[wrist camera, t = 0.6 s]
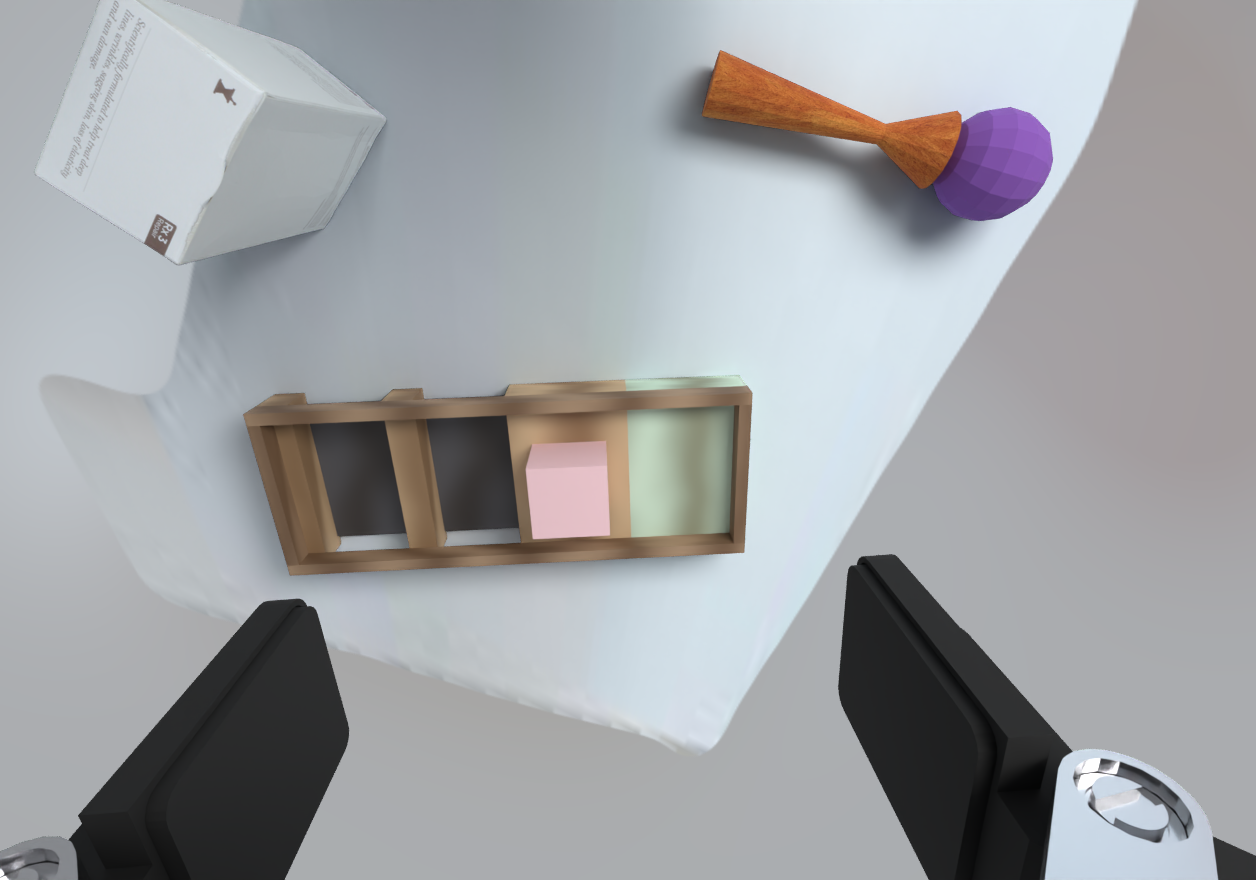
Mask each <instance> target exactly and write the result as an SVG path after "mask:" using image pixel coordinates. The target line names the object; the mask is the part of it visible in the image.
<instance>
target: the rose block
mask: <svg viewBox="0 0 1256 880" xmlns="http://www.w3.org/2000/svg"><path fill="white" fill-rule="evenodd" d="M526 478H527V487H528V497H529V507H530V516H531V526H532V535H533V539H549V538H569V537H589V536H610V519H609V494H608V472H607V451H606V441H594V442H572V443H549V444H532V447H531V451H530V455H529V458H528V462H527V466H526Z"/></svg>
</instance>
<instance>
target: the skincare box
mask: <svg viewBox="0 0 1256 880" xmlns="http://www.w3.org/2000/svg"><path fill="white" fill-rule="evenodd" d="M385 123H386V118H385V117H384V116H383V115H382V114H381V113H380V112H378V111H377V110H376V109H375V108H373V107H372V106H371V105H370V104H369V103H367V102H366V101H365V100H364V99H362V98H361V97H360V96H359V95H357V94H356V93H355V92H354V91H352V90H351V89H350V88H349V87H347V86H346V85H345V84H344V83H342V82H341V81H340V80H338V79H337V78H336V77H335V76H333V75H332V74H331V73H330V72H328V71H327V70H326V69H325V68H323V67H322V66H321V65H319V64H318V63H317V62H316V61H314V60H313V59H312V58H311V57H309V56H308V55H307V54H306V53H304V52H303V51H302V50H301V49H299V48H298V47H295V46H293V45H290V44H287V43H284V42H282V41H279V40H276V39H273V38H271V37H268V36H265V35H262V34H259V33H256V32H253V31H250V30H248V29H245V28H242V27H239V26H236V25H233V24H231V23H228V22H225V21H222V20H220V19H217V18H214V17H211V16H208V15H205V14H203V13H200V12H197V11H194V10H192V9H189V8H186V7H183V6H181V5H178V4H175V3H172V2H168V1H166V0H99V2H98V5H97V8H96V10H95V13H94V16H93V18H92V21H91V24H90V26H89V29H88V32H87V34H86V37H85V40H84V42H83V44H82V47H81V50H80V52H79V55H78V58H77V61H76V63H75V66H74V69H73V71H72V73H71V76H70V78H69V81H68V83H67V86H66V89H65V91H64V94H63V97H62V99H61V102H60V104H59V107H58V110H57V113H56V115H55V118H54V120H53V123H52V126H51V129H50V131H49V134H48V136H47V139H46V141H45V144H44V147H43V149H42V152H41V154H40V157H39V159H38V162H37V165H36V167H35V170H34V173H35V175H36V176H38V177H40V178H41V179H43V180H44V181H46V182H47V183H48V184H50V185H51V186H53V187H55V188H56V189H58V190H59V191H61V192H62V193H64V194H66V195H67V196H69V197H70V198H72V199H74V200H75V201H77V202H78V203H80V204H82V205H83V206H85V207H86V208H88V209H90V210H91V211H93V212H94V213H96V214H98V215H99V216H101V217H103V218H104V219H106V220H107V221H109V222H110V223H112V224H113V225H115V226H117V227H118V228H120V229H121V230H123V231H125V232H126V233H128V234H130V235H131V236H133V237H134V238H136V239H137V240H139V241H141V242H142V243H144V244H146V245H147V246H149V247H150V248H152V249H153V250H155V251H157V252H158V253H160V254H161V255H163V256H164V257H166V258H167V259H168V260H170V261H171V262H173V263H174V264H176V265H182V264H186V263H190V262H194V261H198V260H202V259H206V258H210V257H214V256H217V255H221V254H225V253H229V252H233V251H237V250H241V249H245V248H249V247H253V246H257V245H261V244H264V243H268V242H272V241H276V240H280V239H284V238H288V237H292V236H296V235H300V234H304V233H308V232H312V231H316V230H320V229H324V228H325V227H326V225H327V224H328V222H329V220H330V219H331V217H332V215H333V214H334V212H335V210H336V208H337V207H338V205H339V203H340V201H341V200H342V198H343V196H344V195H345V193H346V191H347V190H348V188H349V186H350V185H351V183H352V181H353V179H354V178H355V176H356V174H357V172H358V171H359V169H360V167H361V165H362V164H363V162H364V160H365V158H366V156H367V154H368V153H369V151H370V149H371V147H372V145H373V142H374V140H375V139H376V137H377V135H378V134H379V132H380V131H381V129H382V127H383V126H384V124H385Z"/></svg>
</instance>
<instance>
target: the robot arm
mask: <svg viewBox="0 0 1256 880" xmlns="http://www.w3.org/2000/svg"><path fill="white" fill-rule="evenodd" d="M838 690H839V696H840V701H841V704H842V707H843V709H844V711H845V713H846V715H847V717H848V719H849V721H850V723H851V725H852V727H853V729H854V731H855V733H856V735H857V737H858V739H859V741H860V743H861V745H862V747H863V749H864V751H865V753H866V755H867V757H868V759H869V761H870V763H871V765H872V767H873V769H874V771H875V773H876V775H877V777H878V779H879V781H880V783H881V785H882V787H883V789H884V791H885V793H886V795H887V797H888V799H889V801H890V803H891V805H892V807H893V809H894V811H895V813H896V815H897V817H898V819H899V821H900V823H901V825H902V827H903V829H904V831H905V833H906V835H907V837H908V839H909V841H910V843H911V845H912V847H913V849H914V851H915V853H916V855H917V857H918V859H919V861H920V863H921V865H922V867H923V869H924V871H925V873H926V875H927V877H928V879H929V880H1256V856H1255V855H1253V854H1250V853H1248V852H1246V851H1244V850H1241V849H1239V848H1237V847H1235V846H1233V845H1230V844H1228V843H1226V842H1224V841H1221V840H1219V839H1217V838H1215V837H1213V836H1212V830H1211V827H1210V824H1209V822H1208V819H1207V816H1206V814H1205V812H1204V811H1203V810H1202V808H1201V807H1200V806H1199V804H1198V803H1197V802H1196V800H1195V799H1194V798H1193V797H1192V796H1191V795H1190V794H1189V793H1188V792H1187V791H1186V790H1184V789H1183V788H1182V787H1181V786H1180V785H1179V784H1178V783H1177V782H1175V781H1174V780H1173V779H1171V778H1169V777H1168V776H1166V775H1165V774H1163V773H1162V772H1160V771H1158V770H1157V769H1156V768H1154V767H1152V766H1150V765H1148V764H1146V763H1143V762H1141V761H1139V760H1137V759H1135V758H1133V757H1130V756H1127V755H1123V754H1120V753H1116V752H1113V751H1109V750H1100V749H1083V750H1077V751H1072V750H1071V749H1070V748H1069V747H1068V746H1067V745H1066V743H1065V742H1064V741H1063V740H1062V739H1061V738H1060V737H1059V735H1058V734H1057V733H1056V732H1055V731H1054V730H1053V729H1052V728H1051V727H1050V725H1049V724H1048V723H1047V722H1046V721H1045V720H1044V719H1043V717H1042V716H1041V715H1040V714H1039V713H1038V712H1037V711H1036V710H1035V709H1034V708H1033V706H1032V705H1031V704H1030V703H1029V702H1028V701H1027V699H1026V698H1025V697H1024V696H1023V695H1022V694H1021V693H1020V692H1019V690H1018V689H1017V688H1016V687H1015V686H1014V685H1013V684H1012V683H1011V681H1010V680H1009V679H1008V678H1007V677H1006V676H1005V675H1004V674H1003V672H1002V671H1001V670H1000V669H999V668H998V667H997V666H996V665H995V664H994V662H993V661H992V660H991V659H990V658H989V657H988V656H987V655H986V654H985V652H984V651H983V650H982V649H981V648H980V647H979V645H977V643H976V642H975V641H974V640H973V639H972V638H971V636H970V635H969V634H968V633H966V632H965V631H964V630H963V629H962V628H960V627H959V626H958V625H957V624H956V623H955V622H954V620H953V619H952V618H951V617H950V616H949V615H948V614H947V612H945V610H944V609H943V608H942V607H941V606H940V605H939V603H938V602H937V601H936V600H935V599H934V598H933V597H932V595H931V594H930V593H929V592H928V591H927V590H926V589H925V588H924V586H923V585H922V584H921V583H920V582H919V581H918V580H917V579H916V577H915V576H914V575H913V574H912V573H911V572H910V571H909V570H908V568H907V567H906V566H905V565H904V564H903V563H902V562H901V560H900V559H899V558H898V557H897V556H895V555H892V554H890V555H876V556H863V557H861V558H859V560H858V562H857V565H854V566H850V567H849V569H848V575H847V588H846V599H845V611H844V623H843V635H842V649H841V660H840V673H839V685H838ZM348 738H349V727H348V722H347V718H346V715H345V711H344V708H343V704H342V701H341V697H340V693H339V690H338V686H337V683H336V679H335V675H334V672H333V668H332V665H331V661H330V658H329V654H328V650H327V647H326V643H325V639H324V636H323V632H322V629H321V625H320V621H319V618H318V614H317V612H316V610H315V608H314V607H311V606H308V607H307V605H306V603H305V602H304V601H303V600H301V599H288V600H275V601H266V602H263V603H262V604H261V605H259V607H258V608H257V609H256V610H255V611H254V612H253V613H252V615H251V616H250V617H249V618H248V619H247V620H246V622H245V623H244V624H243V625H242V626H241V627H240V629H239V630H238V631H237V632H236V633H235V634H234V635H233V637H232V638H231V639H230V640H229V641H228V642H227V644H226V645H225V646H224V647H223V648H222V649H221V651H220V652H219V653H218V654H217V655H216V656H215V657H214V659H213V660H212V661H211V662H210V663H209V665H208V666H207V667H206V668H205V669H204V670H203V671H202V673H201V674H200V675H199V676H198V677H197V678H196V680H195V681H194V682H193V683H192V684H191V685H190V686H189V688H188V689H187V690H186V691H185V692H184V694H183V695H182V696H181V697H180V698H179V699H178V700H177V702H176V703H175V704H174V705H173V706H172V707H171V708H170V710H169V711H168V712H167V713H166V714H165V715H164V717H163V718H162V719H161V720H160V721H159V723H158V724H157V725H156V726H155V727H154V728H153V729H152V730H151V732H150V733H149V734H148V735H147V736H146V737H145V739H144V740H143V741H142V742H141V743H140V744H139V746H138V747H137V748H136V749H135V750H134V751H133V753H132V754H131V755H130V756H129V757H128V758H127V759H126V761H125V762H124V763H123V764H122V765H121V767H120V768H119V769H118V770H117V771H116V772H115V773H114V774H113V776H112V777H111V778H110V779H109V780H108V781H107V783H106V784H105V785H104V786H103V787H102V788H101V790H100V791H99V792H98V793H97V794H96V795H95V797H94V798H93V799H92V800H91V801H90V802H89V803H88V805H87V806H86V807H85V808H84V809H83V810H82V812H81V813H80V814H79V815H78V817H79V818H80V820H81V822H82V824H81V826H80V827H79V828H78V829H77V830H76V832H75V833H74V834H73V835H72V836H71V838H70V839H69V840H67V839H64V838H62V837H40V838H36V839H32V840H28V841H24V842H21V843H19V844H16V845H14V846H12V847H10V848H7V849H5V850H2V851H0V880H285V877H286V875H287V873H288V871H289V869H290V867H291V865H292V863H293V860H294V858H295V856H296V854H297V852H298V850H299V848H300V846H301V843H302V841H303V839H304V837H305V835H306V832H307V831H308V828H309V826H310V824H311V822H312V820H313V818H314V816H315V813H316V811H317V809H318V807H319V805H320V803H321V801H322V799H323V796H324V794H325V792H326V790H327V788H328V786H329V783H330V781H331V779H332V777H333V775H334V773H335V771H336V769H337V766H338V765H339V762H340V760H341V758H342V756H343V754H344V752H345V749H346V747H347V743H348Z"/></svg>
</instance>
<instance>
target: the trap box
mask: <svg viewBox="0 0 1256 880" xmlns="http://www.w3.org/2000/svg"><path fill="white" fill-rule="evenodd" d="M751 411H752V392H751V390H750V389H749V388H748V386H747V385H746V384H745V382H744V381H743V380H742V378H741V377H740V376H739V375H730V376H706V377H682V378H658V379H633V380H609V381H585V382H561V383H537V384H513V385H509V387H508V389H507V391H506V394H505V396H490V397H466V398H442V399H424V396H423V390H422V388H416V389H393V390H392V391H391V392H390V393H389V394H388V395H387V396H386V397H385V398H384V399H383V400H382V401H371V402H347V403H323V404H307V402H306V397H305V393H296V394H275V395H273V396H271V397H270V398H268V399H267V400H265V401H264V402H262V403H260V404H259V405H257V406H256V407H254V408H253V409H251V410H249V411H248V412H246V413H245V414H243V415H244V419H245V422H246V426H247V429H248V433H249V436H250V439H251V443H252V446H253V450H254V453H255V457H256V460H257V463H258V467H259V470H260V474H261V477H262V481H263V484H264V488H265V491H266V494H267V498H268V501H269V505H270V508H271V512H272V515H273V519H274V522H275V525H276V529H277V532H278V536H279V539H280V543H281V546H282V550H283V553H284V556H285V560H286V563H287V567H288V570H289V574H290V575H310V574H330V573H350V572H370V571H390V570H410V569H430V568H450V567H470V566H490V565H510V564H530V563H550V562H569V561H589V560H609V559H629V558H649V557H669V556H689V555H709V554H729V553H744V547H745V528H746V508H747V489H748V469H749V450H750V431H751ZM594 441H606V451H607V472H608V494H609V519H610V536H589V537H569V538H549V539H533V535H532V526H531V516H530V507H529V497H528V487H527V478H526V466H527V462H528V458H529V455H530V451H531V447H532V444H549V443H572V442H594ZM498 528H519V529H520V538H521V543H508V544H488V545H467V546H447V547H444V544H445V542H446V540H447V534H446V531H457V530H478V529H498ZM395 533H407V537H408V542H409V547H410V548H406V549H386V550H366V551H345V552H335V551H336V550H337V549H338V547H339V546H340V544H341V540H340V536H354V535H374V534H395Z"/></svg>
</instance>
